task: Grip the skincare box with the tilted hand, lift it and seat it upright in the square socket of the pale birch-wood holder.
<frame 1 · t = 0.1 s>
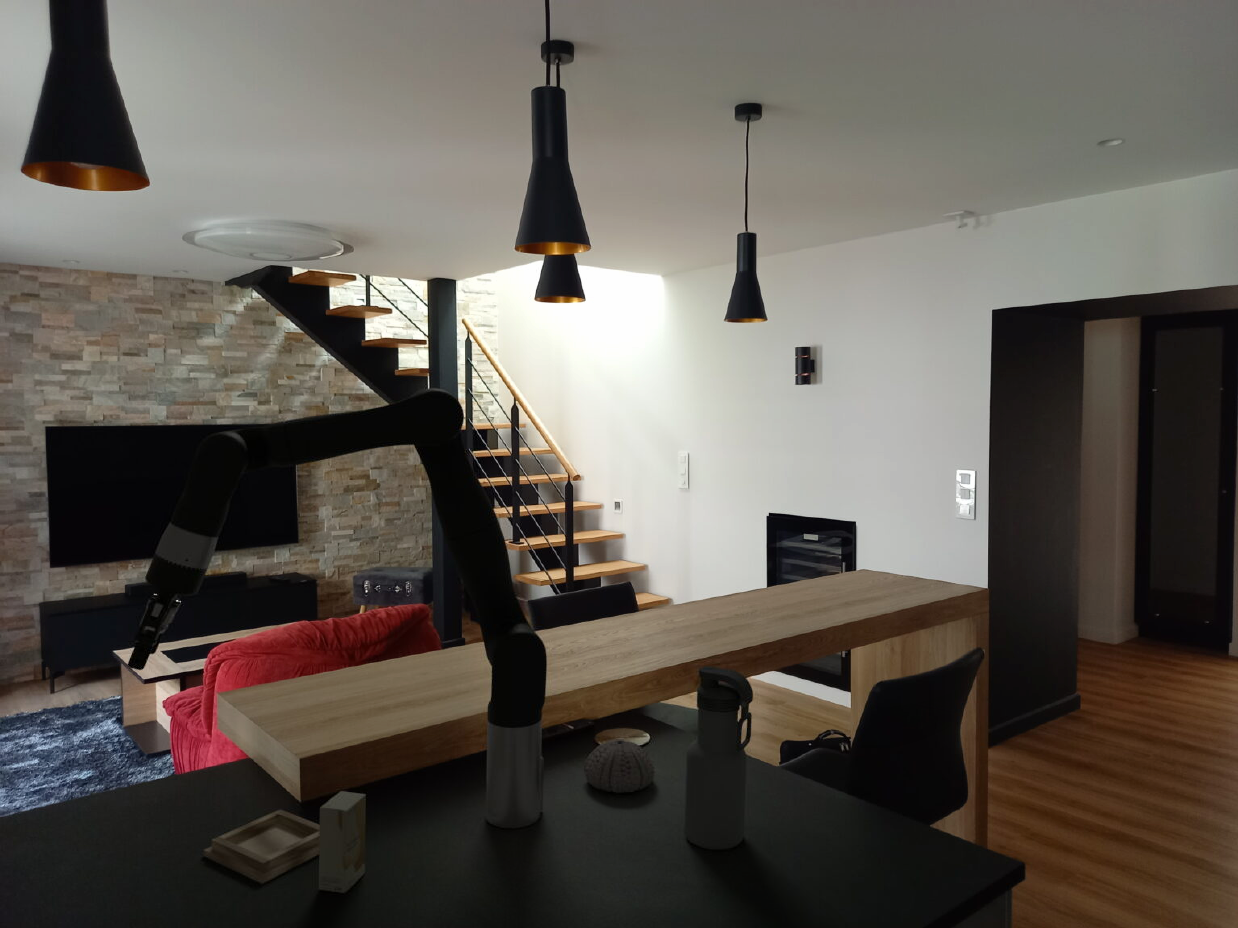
hand: (141, 659, 130), 31 cm above the kitchen counter, tool tilted 20°, fingers open, 8 cm apart
skincare box: (342, 882, 129), on the kitchen counter
water bottle: (715, 838, 145), on the kitchen counter
sea urchin shell: (619, 784, 165), on the kitchen counter
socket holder: (272, 849, 137), on the kitchen counter
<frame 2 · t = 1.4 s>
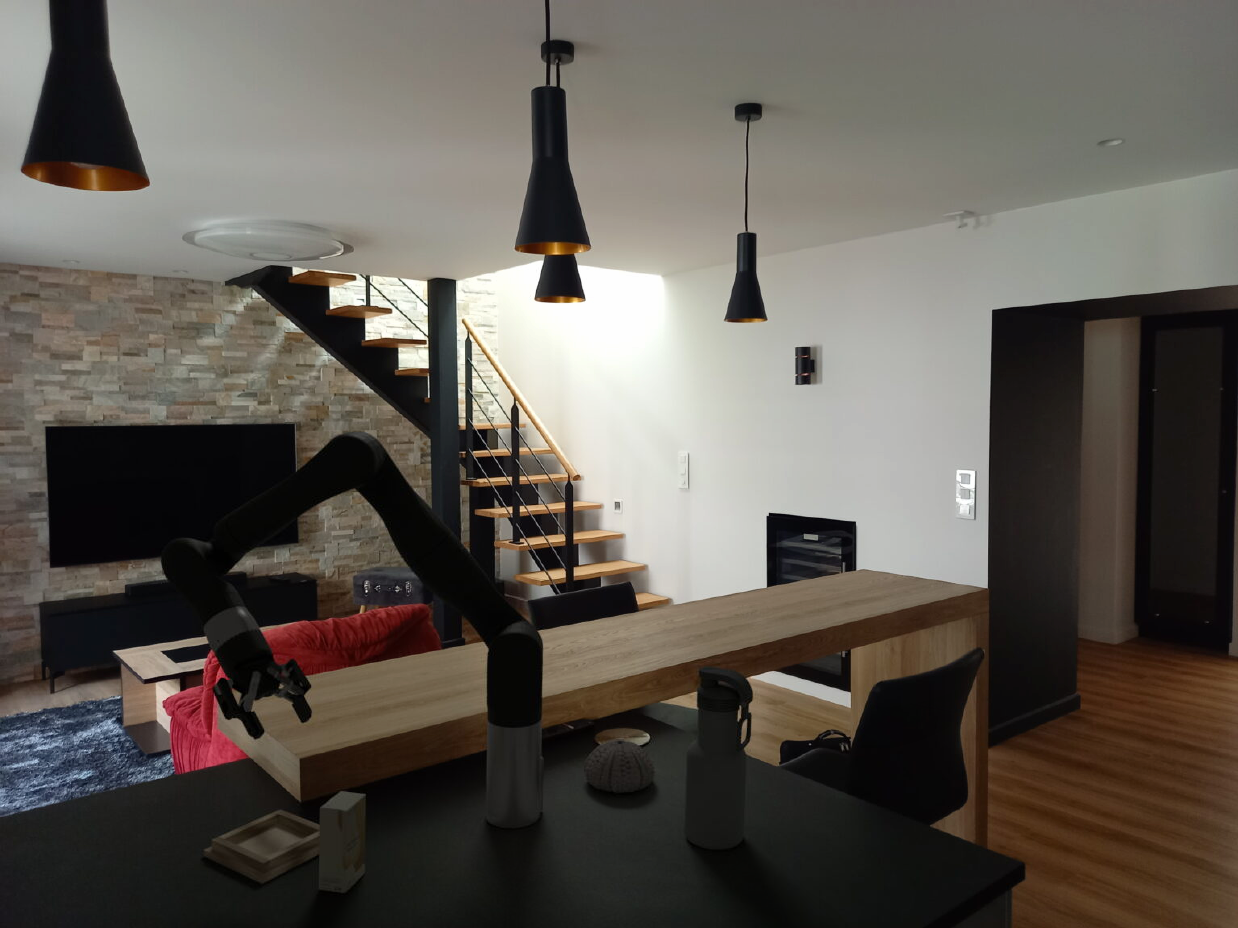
hand: (284, 727, 134), 20 cm above the kitchen counter, tool tilted 45°, fingers open, 8 cm apart
nothing on the kitchen counter moved.
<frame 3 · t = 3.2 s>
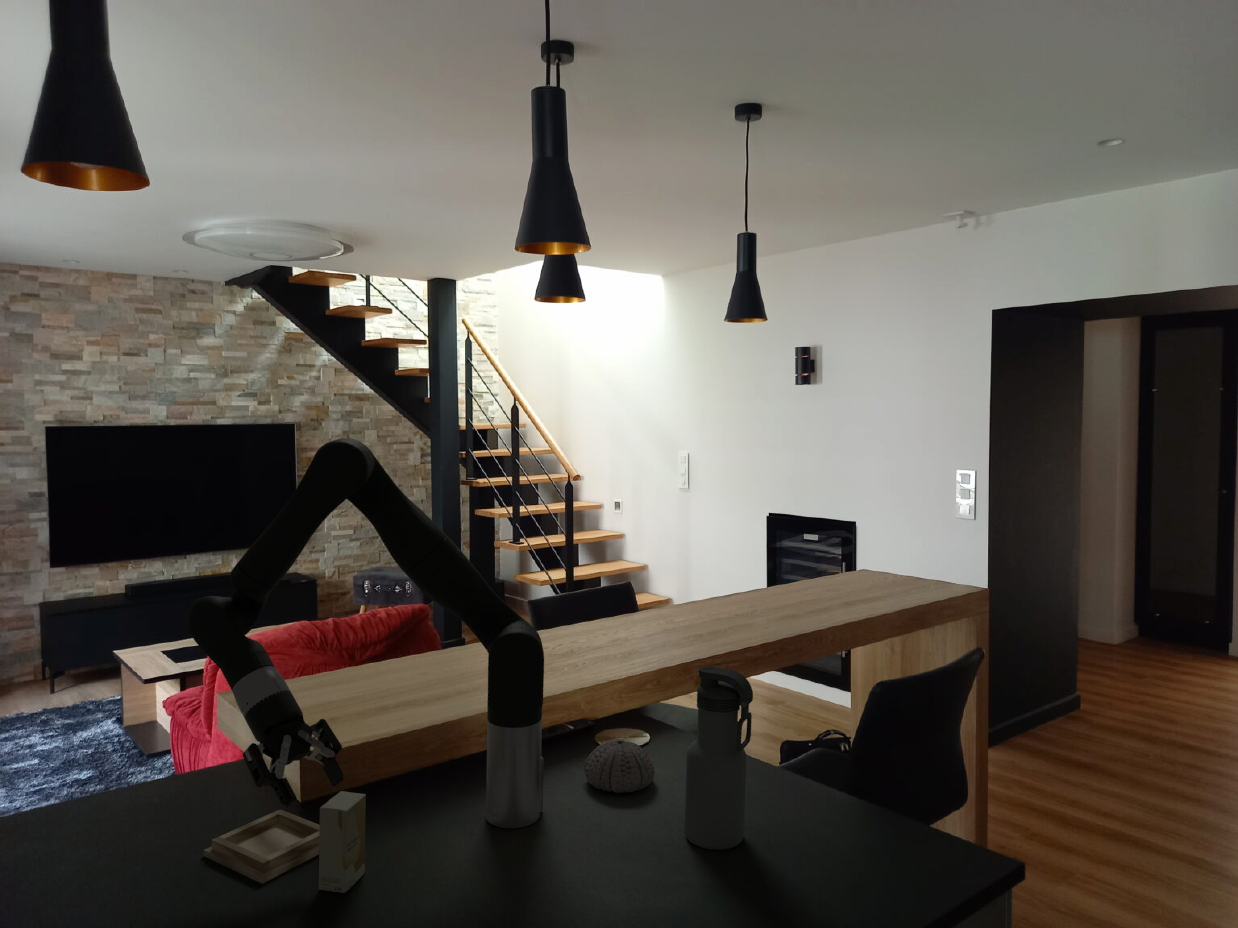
hand: (316, 793, 131), 12 cm above the kitchen counter, tool tilted 45°, fingers open, 8 cm apart
nothing on the kitchen counter moved.
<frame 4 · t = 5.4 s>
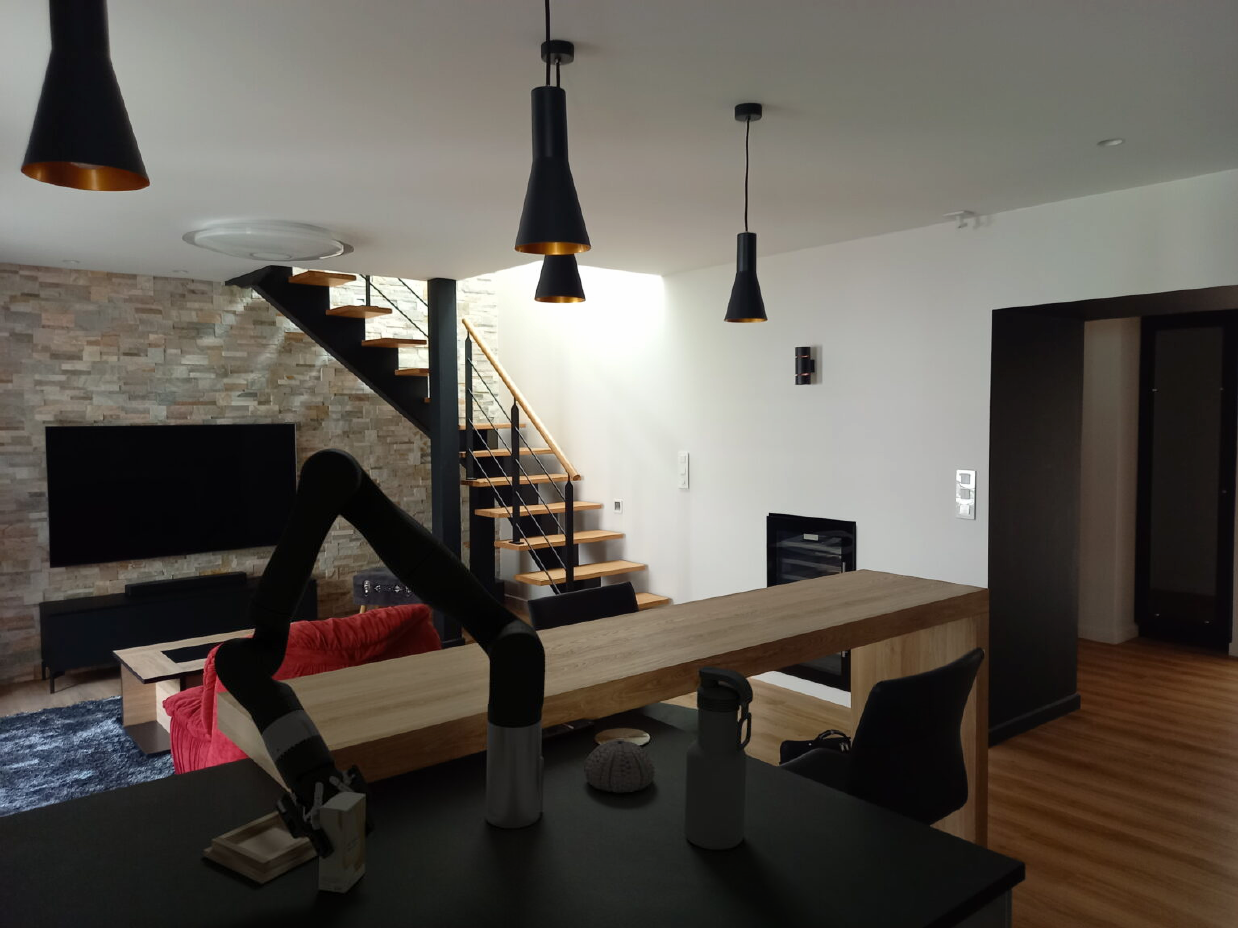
hand: (350, 844, 128), 6 cm above the kitchen counter, tool tilted 45°, fingers closed on skincare box, 7 cm apart
skincare box: (342, 882, 129), on the kitchen counter, touching gripper
everything else where it was.
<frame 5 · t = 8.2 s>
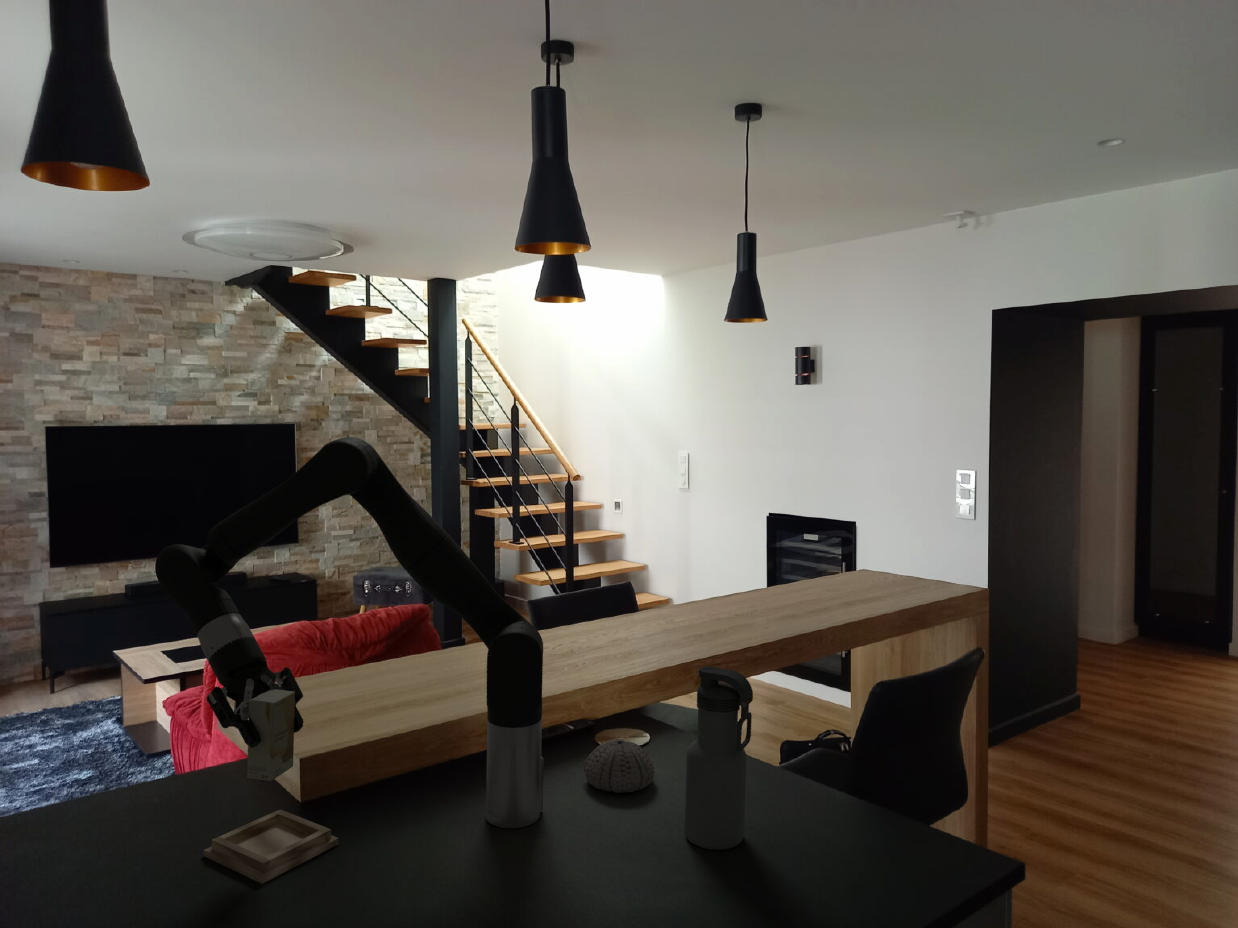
hand: (278, 736, 135), 19 cm above the kitchen counter, tool tilted 45°, fingers closed on skincare box, 7 cm apart
skincare box: (271, 773, 136), point 12 cm above the kitchen counter, touching gripper
everything else where it was.
when the fingers open (9 cm above the kitchen counter, at t = 11.2 s): skincare box drops 2 cm, resting on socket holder.
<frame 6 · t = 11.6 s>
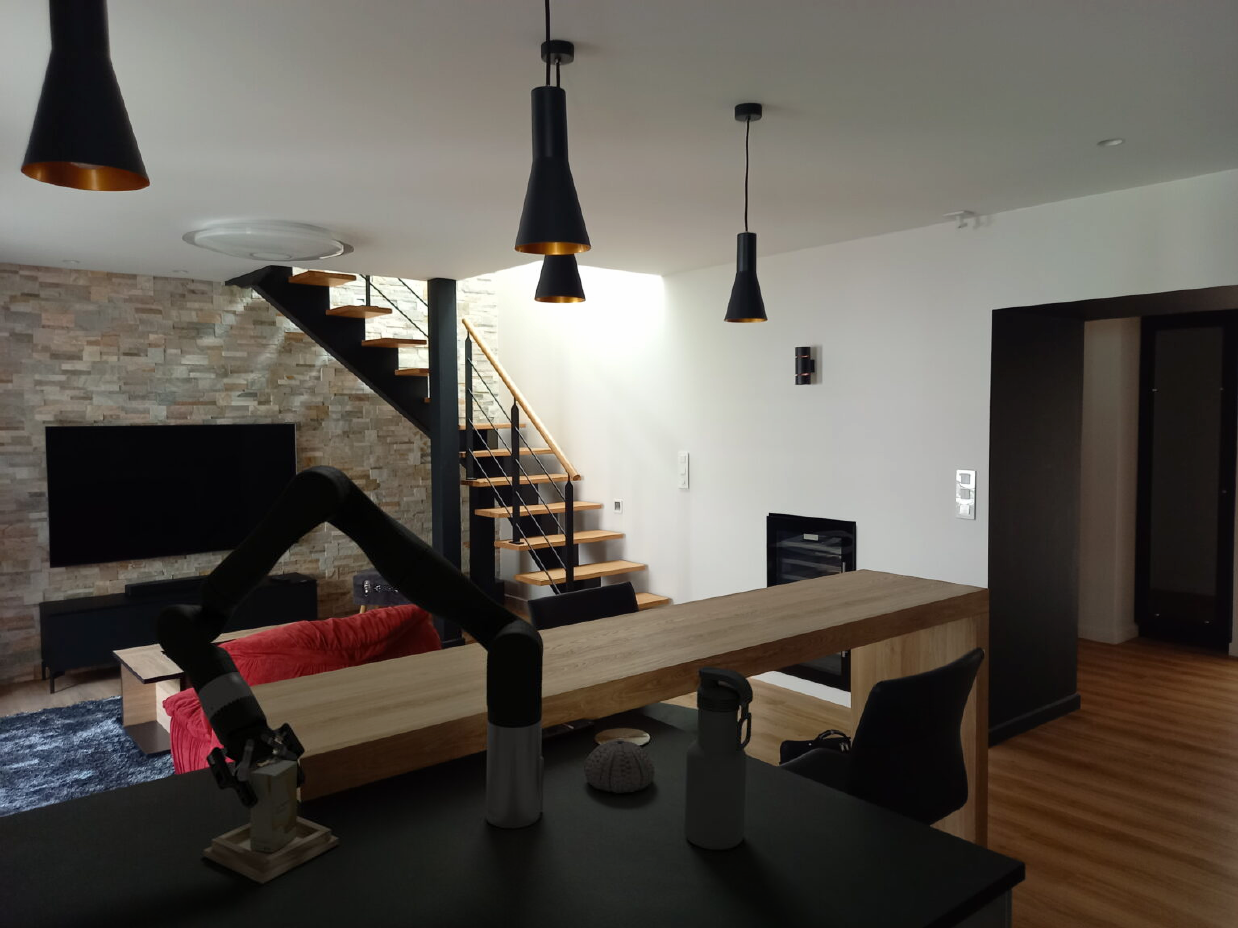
hand: (278, 795, 136), 9 cm above the kitchen counter, tool tilted 45°, fingers open, 8 cm apart
skincare box: (274, 843, 138), point 1 cm above the kitchen counter, touching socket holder
everything else where it was.
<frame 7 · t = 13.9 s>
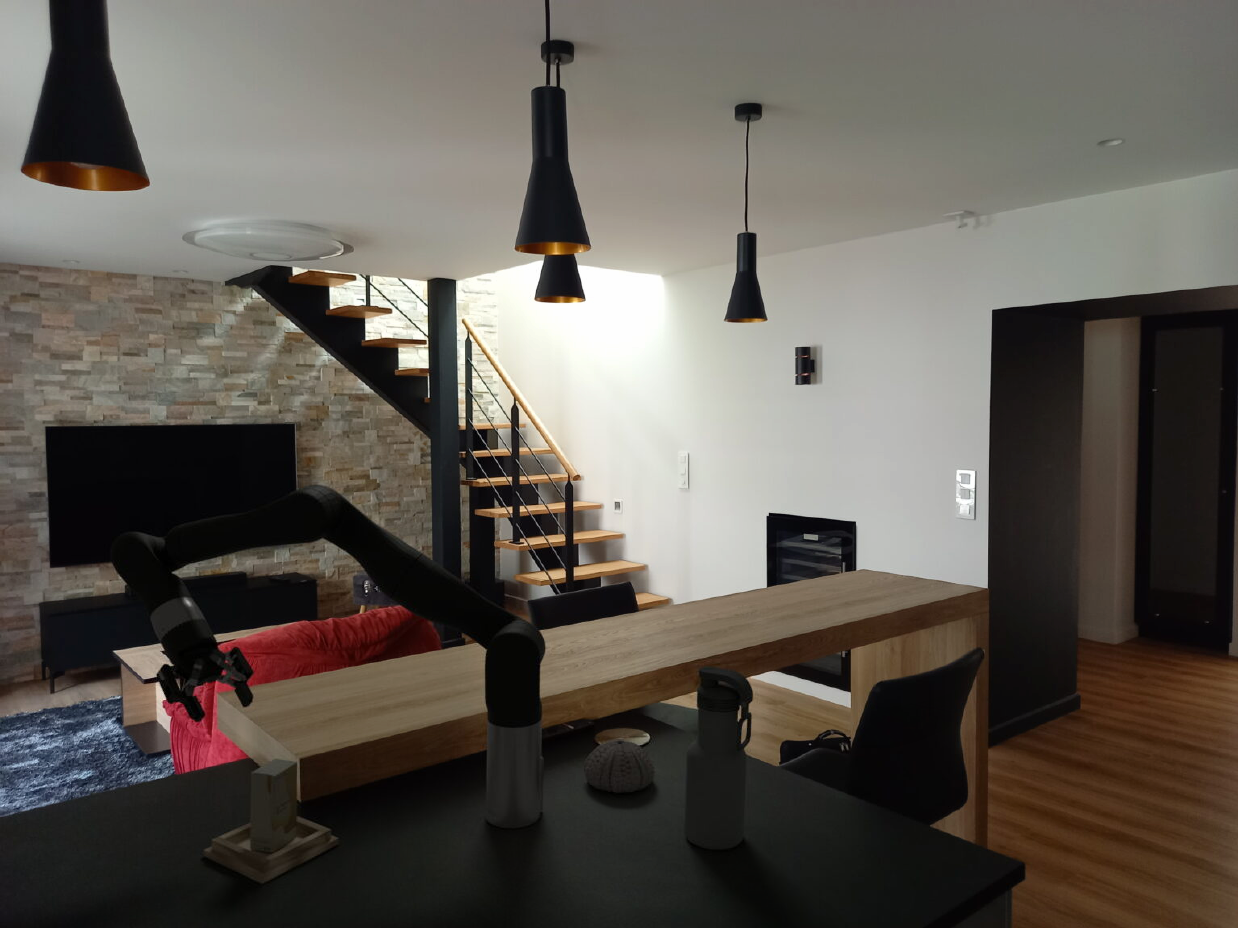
hand: (225, 711, 142), 20 cm above the kitchen counter, tool tilted 45°, fingers open, 8 cm apart
nothing on the kitchen counter moved.
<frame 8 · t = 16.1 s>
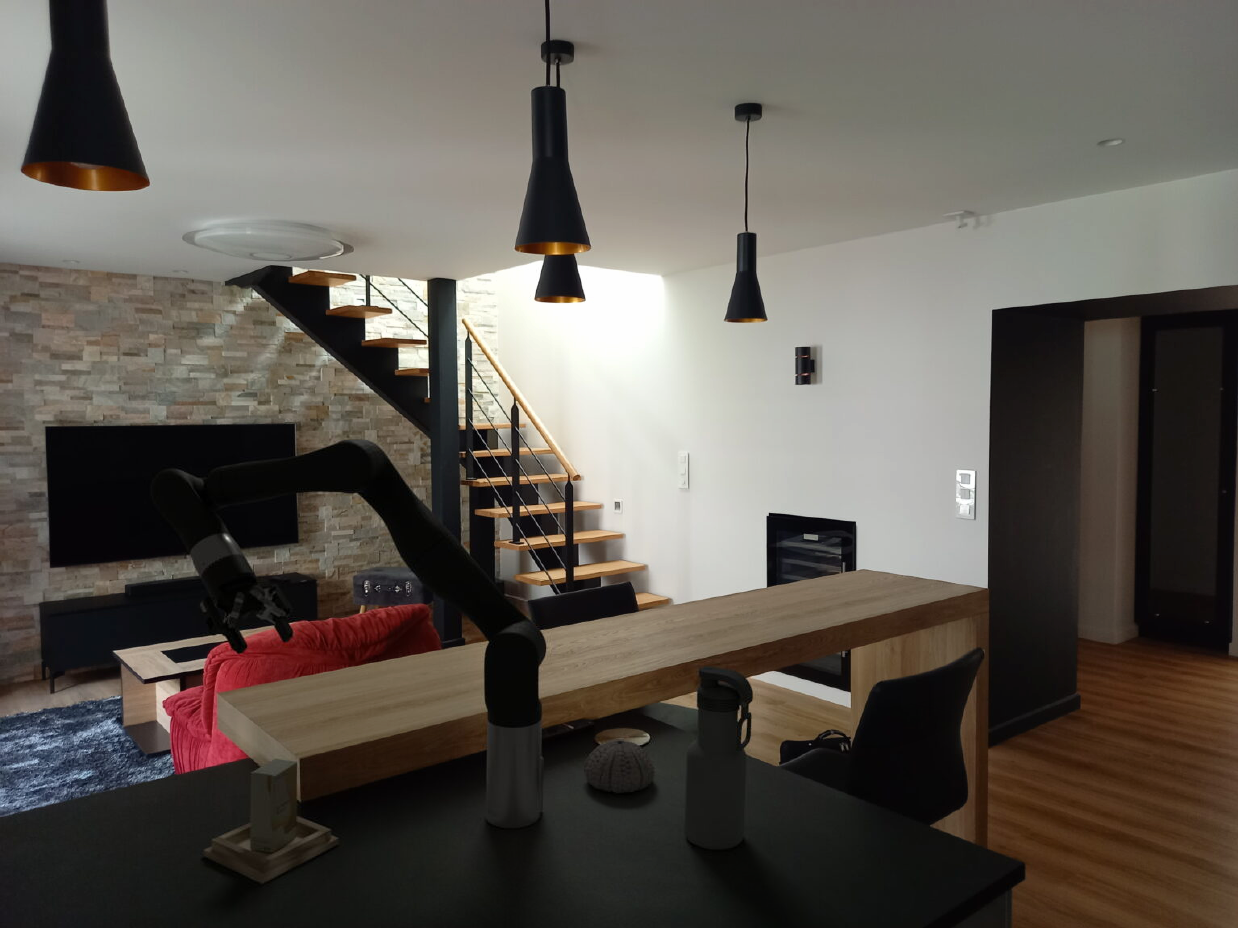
hand: (266, 644, 142), 31 cm above the kitchen counter, tool tilted 45°, fingers open, 8 cm apart
nothing on the kitchen counter moved.
at the end: skincare box 0.4 cm off-centre on the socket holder, point 0.8 cm above the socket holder's base; skincare box tilted 0°; the gripper is holding nothing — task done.
